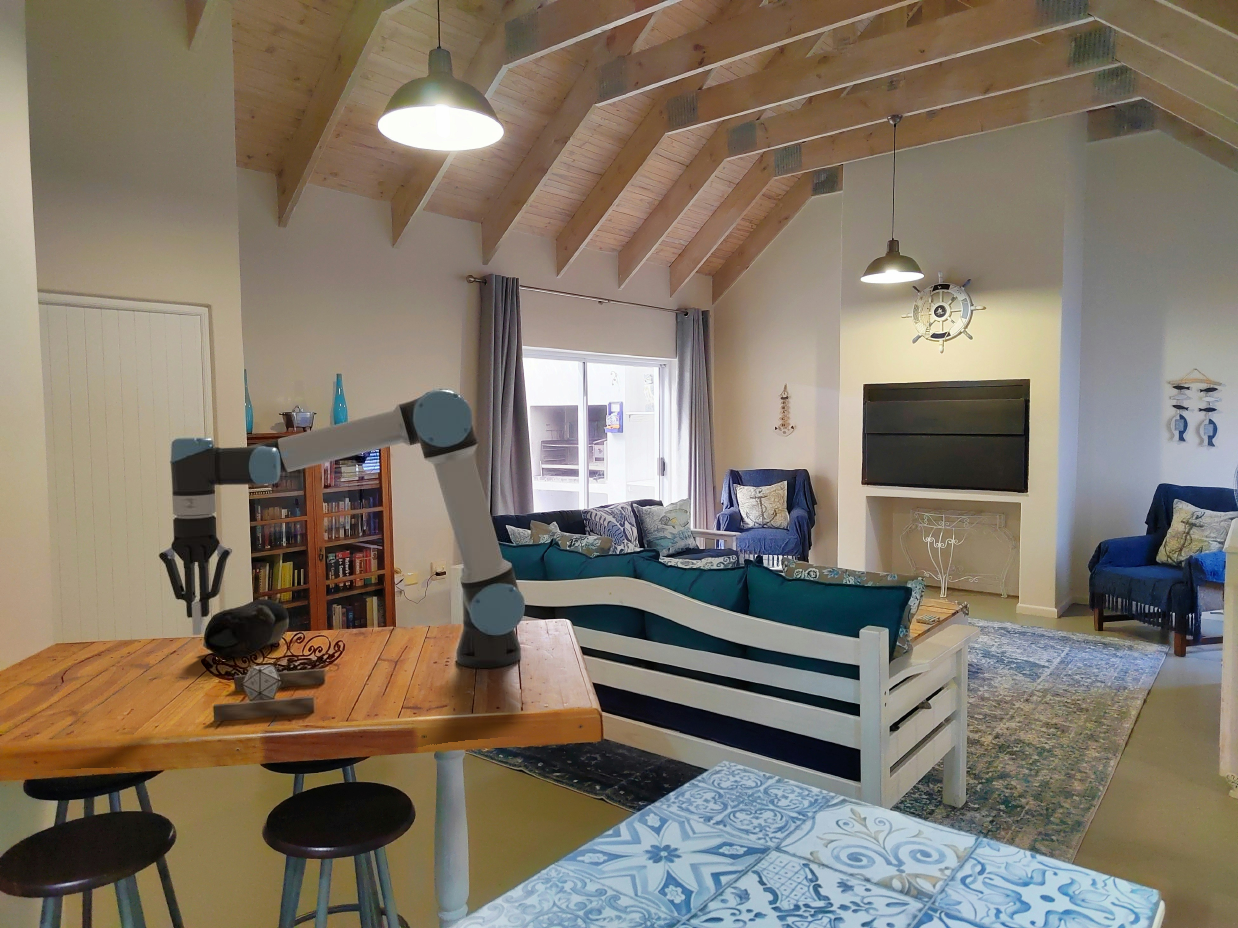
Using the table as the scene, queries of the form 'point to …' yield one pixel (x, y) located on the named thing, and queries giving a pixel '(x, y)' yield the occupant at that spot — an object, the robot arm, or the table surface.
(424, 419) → the robot arm
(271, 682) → the game die
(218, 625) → the black rounded lump
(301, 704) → the walnut channel
